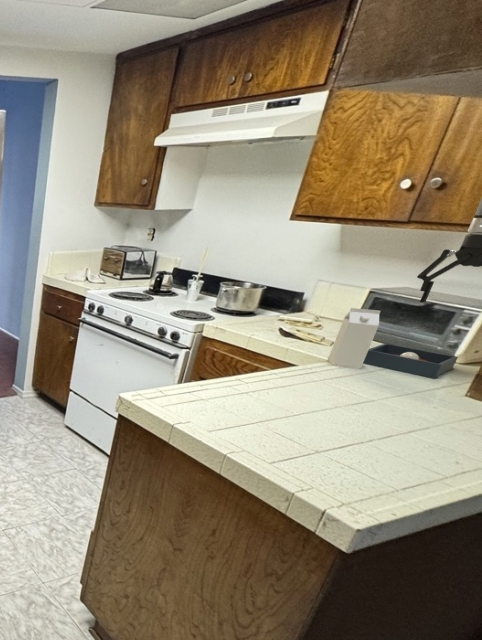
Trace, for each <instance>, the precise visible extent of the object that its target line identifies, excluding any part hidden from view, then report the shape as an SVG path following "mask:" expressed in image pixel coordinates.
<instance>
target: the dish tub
mask: <svg viewBox="0 0 482 640" xmlns="http://www.w3.org/2000/svg"><path fill="white" fill-rule="evenodd" d="M406 352H413V353H415V354H417V355H418V356H419V359H423V360H426V361H422V360H417V359H412V358H407V357H402V356H397V355H401V354H403V353H406ZM458 358H459V356H455V355H451V354H446V353H445V354H444V353H441V352H440V353H439V352H434V351H428V350H423V349H418V348H413V347H409V346H403V345H398V344H397V345H396V344H391V343H386V342H385V343H382V344H379V345H376V346H373V347H370V348H369V350H368V352H367V355H366V357H365V359H364V362H363V364H362V365H367V366H368V365H369V366H373V367H377V368H382V369H387V370H390V371H395V372H400V373H404V374H409V375H412V376H418V377H422V378H427V379H431V380H436V379H438V378H439V376H441V375H443V374H445V373H446V372H448V371H450V370H452V369H453V368H454V366H455V364H456V362H457V360H458ZM427 361H428V362H427Z"/></svg>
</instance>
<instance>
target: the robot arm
mask: <svg viewBox="0 0 482 640" xmlns="http://www.w3.org/2000/svg"><path fill="white" fill-rule="evenodd" d="M467 232H468V234H466V235H465V236H464V238H463V241H462V243H461V245H460V247H459V249H458V250H453V249H450V248H446V249H443V250H442V251H441V254H440V256H439V257H438V258H437V259H434V261H433V262H432V263H430V264H429V265H428V266H427V267H426V268H424V269H423V270H422V271H421V272H420V273H419V274H418V275H417V276H416V278H417V279H420V280H422V281H423V282H422V285H421V287H420V292H423V294H422V296H421V298H420V301H419V303H426V302H427V301H428V297H429V295H430V293H431V290H432V289H433V285H434V284H435V281H433V280H434V279H436V278H437V277H439V276H441V275H443V274H445V273H447V272H448V271H450V270H452V269H454V268H455V267H458V266H459V265H460V266H462V267H474V268H479V267H482V198H481V199H480V202H479V204H478V207H477V209H476V212H475V214H474V216H473V218H472V220H471V223H470V225H469V227H468V229H467ZM453 255H454V256H455V258H456V260H454V261H452V262H451V263H449V264H448V265H445V266H444V267H442V268H440V269H438V270H437V271H435V272H433V271H434V270H435V269H436V268H437V267H438V266H439V265H440V264H442V263H443V262H444V261H446V259H447V258H451V257H452V256H453ZM431 272H433V273H431ZM430 273H431V274H430Z"/></svg>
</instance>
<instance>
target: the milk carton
mask: <svg viewBox="0 0 482 640" xmlns="http://www.w3.org/2000/svg"><path fill="white" fill-rule="evenodd" d="M380 314H381V310H376V309H367V308H357V307H356V308H354V307H351V308H350V310H349V312H348V313H346V315H345V316H344V317H343V319H342V322H341V324H340V327H339V329H338V332H337V335H336V337H335V340H334V342H333V345H332V348H331V350H330V353H329V355H328V358H327V361H328V362H329V363H330V364H331V365H332V366H335V367H343V368H350V369H356V370H361V369H362V367H363V365H364V364H363V362H364V359H365V357H366V355H367V352H368V350H369V349H370V348H371V345H372V342H373V340H374V339H375V336H376V333H377V331H378V329H379V326H380Z"/></svg>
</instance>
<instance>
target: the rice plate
mask: <svg viewBox="0 0 482 640" xmlns="http://www.w3.org/2000/svg"><path fill="white" fill-rule="evenodd" d="M397 356H402V357H407V358H412V359H417V360H422V361H426V360H423V359H419V356H418V355H417V354H415V353H413V352H406V353H403V354H401V355H397ZM427 362H428V361H427Z"/></svg>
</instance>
